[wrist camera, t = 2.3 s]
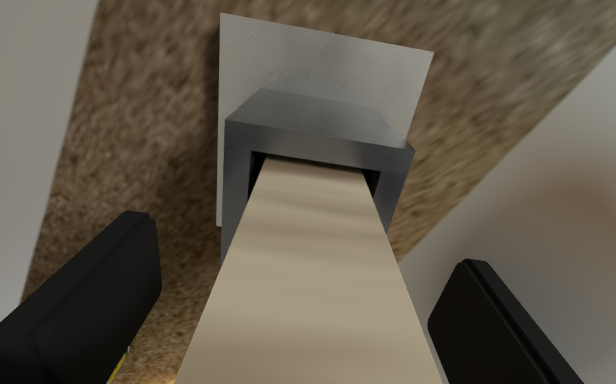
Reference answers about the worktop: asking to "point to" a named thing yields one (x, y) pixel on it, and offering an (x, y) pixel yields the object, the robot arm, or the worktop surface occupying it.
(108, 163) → the worktop surface
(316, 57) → the stand base
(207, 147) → the worktop surface
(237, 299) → the column
